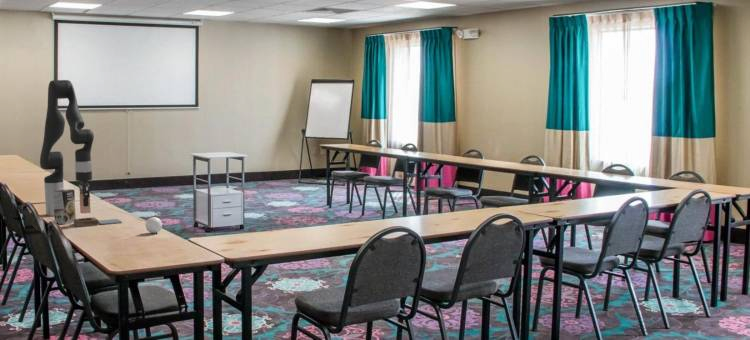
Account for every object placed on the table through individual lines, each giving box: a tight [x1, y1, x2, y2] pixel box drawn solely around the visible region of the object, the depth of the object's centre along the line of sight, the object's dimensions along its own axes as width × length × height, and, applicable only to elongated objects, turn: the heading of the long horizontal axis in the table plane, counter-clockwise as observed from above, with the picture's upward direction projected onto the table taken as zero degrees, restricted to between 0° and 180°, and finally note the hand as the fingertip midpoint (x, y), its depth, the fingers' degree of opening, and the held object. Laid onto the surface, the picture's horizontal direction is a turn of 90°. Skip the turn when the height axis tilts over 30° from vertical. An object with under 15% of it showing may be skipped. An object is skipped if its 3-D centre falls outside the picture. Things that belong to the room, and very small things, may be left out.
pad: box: [98, 218, 123, 226], centre depth 394 cm, size 10×10×1 cm
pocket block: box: [73, 216, 99, 228], centre depth 389 cm, size 10×10×2 cm
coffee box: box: [53, 189, 77, 225], centre depth 394 cm, size 9×6×16 cm
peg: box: [79, 193, 91, 214], centre depth 388 cm, size 4×4×9 cm
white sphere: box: [145, 217, 163, 234], centre depth 365 cm, size 10×7×7 cm
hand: (85, 205), depth 388 cm, fingers closed on peg, 4 cm apart
